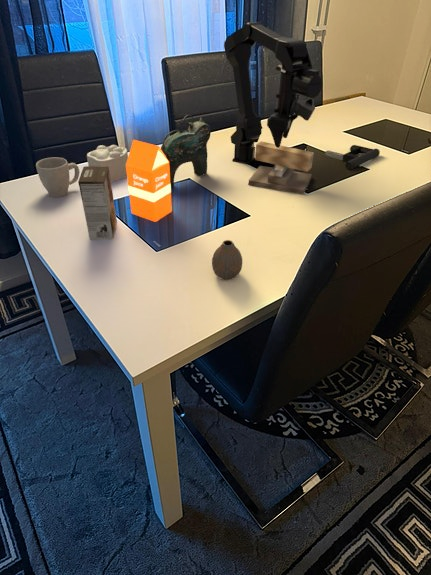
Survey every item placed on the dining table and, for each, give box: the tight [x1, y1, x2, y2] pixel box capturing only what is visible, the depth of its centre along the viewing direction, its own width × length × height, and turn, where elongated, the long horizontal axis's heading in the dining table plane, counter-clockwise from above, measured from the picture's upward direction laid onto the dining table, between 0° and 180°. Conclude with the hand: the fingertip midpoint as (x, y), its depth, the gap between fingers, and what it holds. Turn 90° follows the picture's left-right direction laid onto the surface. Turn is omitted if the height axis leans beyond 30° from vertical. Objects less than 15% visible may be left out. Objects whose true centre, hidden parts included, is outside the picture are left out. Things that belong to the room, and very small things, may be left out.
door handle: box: [324, 144, 380, 170], centre depth 154 cm, size 3×20×16 cm
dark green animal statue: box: [160, 114, 212, 188], centre depth 131 cm, size 20×6×20 cm, turn 134°
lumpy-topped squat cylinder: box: [86, 144, 129, 182], centre depth 137 cm, size 10×13×9 cm
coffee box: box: [77, 165, 118, 240], centre depth 106 cm, size 9×6×16 cm
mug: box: [35, 156, 81, 198], centre depth 125 cm, size 12×9×10 cm
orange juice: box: [126, 139, 173, 223], centre depth 113 cm, size 8×9×20 cm
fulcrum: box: [247, 164, 313, 195], centre depth 135 cm, size 18×13×6 cm
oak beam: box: [254, 140, 315, 173], centre depth 132 cm, size 18×4×5 cm, turn 60°
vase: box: [211, 239, 243, 281], centre depth 94 cm, size 7×7×9 cm
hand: (281, 142), depth 132 cm, fingers open, 9 cm apart
